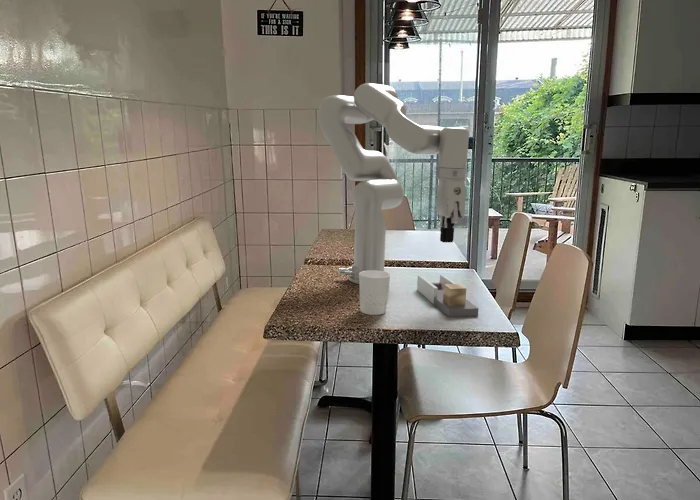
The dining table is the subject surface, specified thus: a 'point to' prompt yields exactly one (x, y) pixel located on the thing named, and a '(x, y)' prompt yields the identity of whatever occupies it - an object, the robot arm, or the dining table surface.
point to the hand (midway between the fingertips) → (446, 241)
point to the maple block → (454, 294)
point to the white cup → (373, 291)
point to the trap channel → (436, 297)
